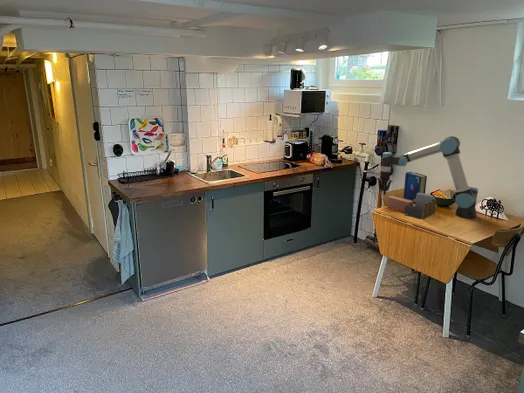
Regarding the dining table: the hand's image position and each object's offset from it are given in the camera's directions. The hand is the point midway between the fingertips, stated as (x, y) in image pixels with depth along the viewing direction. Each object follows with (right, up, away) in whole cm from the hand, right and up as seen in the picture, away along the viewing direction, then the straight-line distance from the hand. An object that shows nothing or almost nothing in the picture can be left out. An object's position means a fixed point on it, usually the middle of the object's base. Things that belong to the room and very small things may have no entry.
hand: (382, 198), depth 335 cm
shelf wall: (+27, -14, -26) cm, 41 cm away
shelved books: (+28, -11, -17) cm, 34 cm away
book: (+31, -3, +14) cm, 34 cm away
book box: (+11, -9, -9) cm, 17 cm away
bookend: (+16, -14, -25) cm, 33 cm away
